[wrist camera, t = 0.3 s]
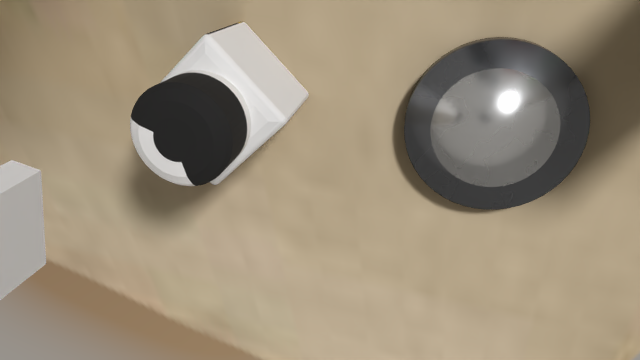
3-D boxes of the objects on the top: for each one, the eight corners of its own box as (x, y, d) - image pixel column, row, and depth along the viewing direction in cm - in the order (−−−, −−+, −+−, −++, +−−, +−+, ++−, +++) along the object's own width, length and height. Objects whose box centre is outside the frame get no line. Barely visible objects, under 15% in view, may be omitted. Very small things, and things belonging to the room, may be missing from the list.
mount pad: (420, 26, 35) (420, 28, 34) (609, 49, 33) (616, 53, 32) (393, 187, 40) (392, 194, 38) (556, 215, 38) (560, 222, 37)
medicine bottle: (243, 18, 37) (166, 45, 26) (311, 93, 38) (265, 149, 27) (182, 83, 40) (89, 132, 29) (247, 152, 41) (182, 222, 30)
